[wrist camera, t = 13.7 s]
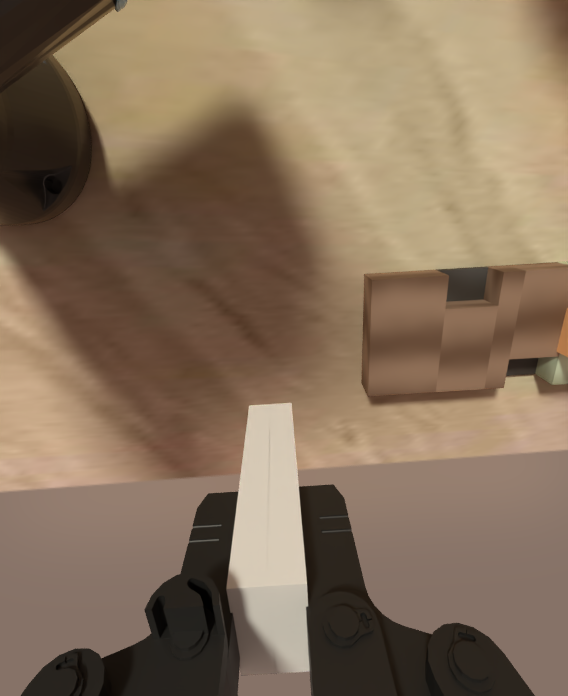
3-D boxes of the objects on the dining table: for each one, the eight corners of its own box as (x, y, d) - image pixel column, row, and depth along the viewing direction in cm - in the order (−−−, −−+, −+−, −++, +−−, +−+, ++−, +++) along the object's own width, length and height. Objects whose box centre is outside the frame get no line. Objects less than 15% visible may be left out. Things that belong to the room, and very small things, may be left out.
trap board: (364, 274, 35) (376, 283, 31) (627, 258, 36) (674, 265, 31) (361, 382, 40) (371, 403, 36) (595, 368, 40) (633, 387, 36)
